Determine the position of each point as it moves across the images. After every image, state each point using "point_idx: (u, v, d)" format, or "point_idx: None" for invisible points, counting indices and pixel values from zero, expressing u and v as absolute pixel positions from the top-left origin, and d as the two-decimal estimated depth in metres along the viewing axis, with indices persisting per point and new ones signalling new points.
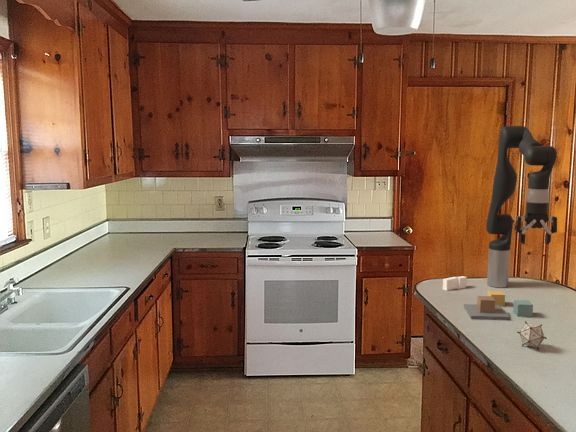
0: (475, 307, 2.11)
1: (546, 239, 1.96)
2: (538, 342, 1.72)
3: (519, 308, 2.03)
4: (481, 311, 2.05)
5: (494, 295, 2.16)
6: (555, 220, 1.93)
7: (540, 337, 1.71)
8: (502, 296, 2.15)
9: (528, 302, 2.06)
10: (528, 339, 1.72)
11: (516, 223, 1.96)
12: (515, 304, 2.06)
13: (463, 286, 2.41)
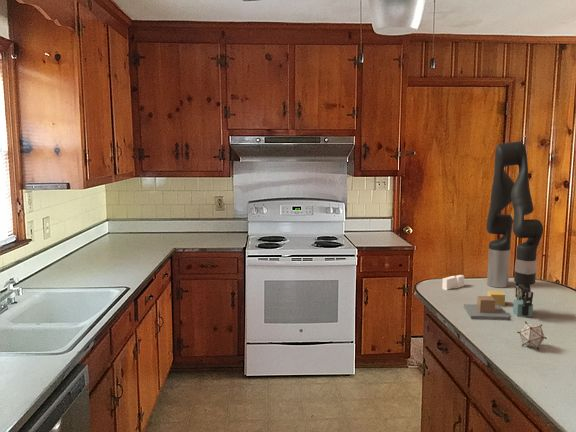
0: (475, 307, 2.11)
1: None
2: (538, 342, 1.72)
3: (519, 307, 2.03)
4: (481, 311, 2.05)
5: (494, 295, 2.16)
6: None
7: (540, 337, 1.71)
8: (502, 296, 2.15)
9: None
10: (528, 339, 1.72)
11: (529, 299, 1.99)
12: (515, 304, 2.06)
13: (461, 285, 2.43)
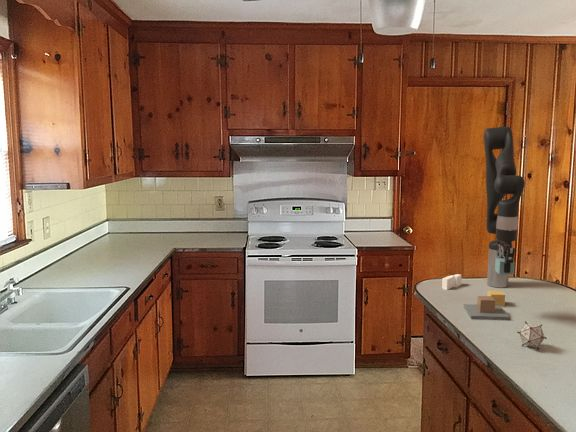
0: (475, 307, 2.11)
1: None
2: (538, 342, 1.72)
3: (500, 265, 2.01)
4: (481, 311, 2.05)
5: (494, 295, 2.16)
6: None
7: (540, 337, 1.71)
8: (502, 296, 2.15)
9: None
10: (528, 339, 1.72)
11: (511, 255, 1.97)
12: (497, 262, 2.04)
13: (459, 284, 2.45)
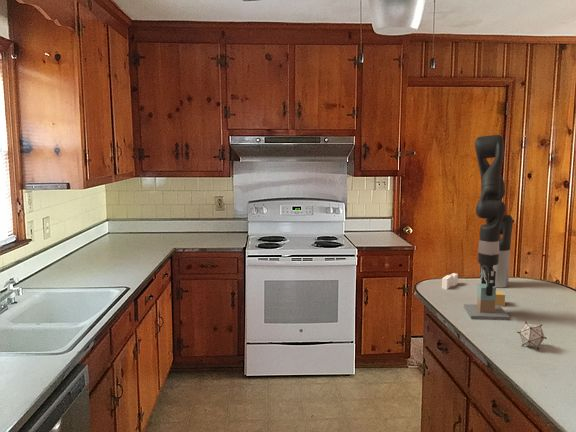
0: (475, 307, 2.11)
1: None
2: (538, 342, 1.72)
3: (482, 291, 2.04)
4: (481, 311, 2.05)
5: None
6: None
7: (540, 337, 1.71)
8: (502, 296, 2.15)
9: None
10: (528, 339, 1.72)
11: (492, 278, 1.99)
12: (479, 287, 2.07)
13: (456, 283, 2.46)
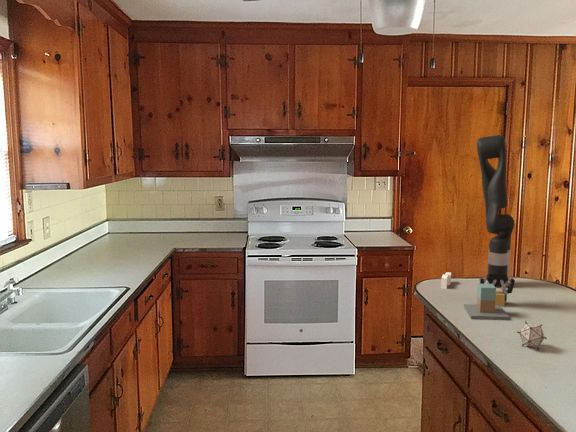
0: (475, 307, 2.11)
1: None
2: (538, 342, 1.72)
3: (482, 291, 2.04)
4: (481, 311, 2.05)
5: None
6: None
7: (540, 337, 1.71)
8: (502, 296, 2.15)
9: (492, 285, 2.06)
10: (528, 339, 1.72)
11: None
12: (479, 287, 2.07)
13: (450, 282, 2.49)
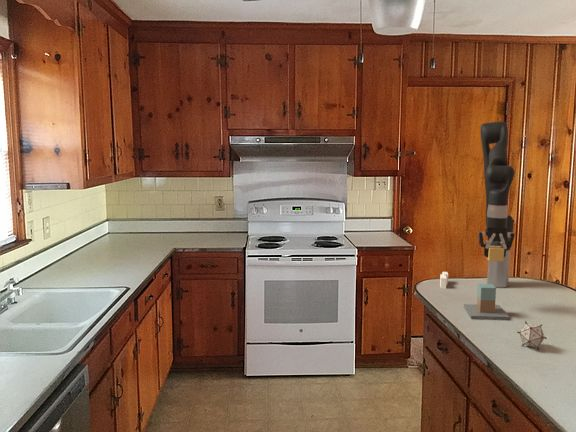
0: (475, 307, 2.11)
1: None
2: (538, 342, 1.72)
3: (482, 291, 2.04)
4: (481, 311, 2.05)
5: (492, 249, 2.09)
6: None
7: (540, 337, 1.71)
8: (501, 250, 2.09)
9: (492, 285, 2.06)
10: (528, 339, 1.72)
11: None
12: (479, 287, 2.07)
13: None
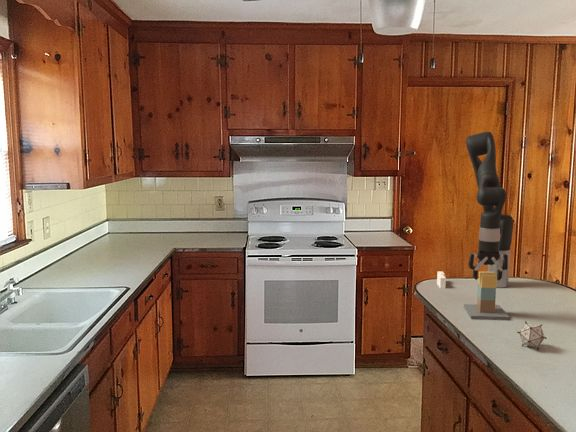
0: (475, 307, 2.11)
1: None
2: (538, 342, 1.72)
3: (482, 291, 2.04)
4: (481, 311, 2.05)
5: (485, 276, 2.03)
6: None
7: (540, 337, 1.71)
8: (494, 277, 2.02)
9: None
10: (528, 339, 1.72)
11: None
12: (479, 287, 2.07)
13: None
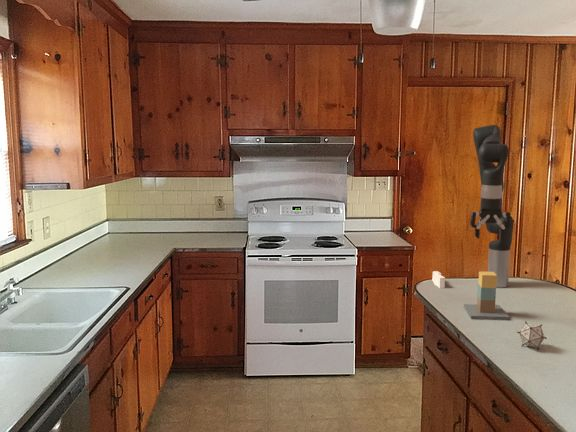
0: (475, 307, 2.11)
1: None
2: (538, 342, 1.72)
3: (482, 291, 2.04)
4: (481, 311, 2.05)
5: (485, 276, 2.03)
6: None
7: (540, 337, 1.71)
8: (494, 277, 2.02)
9: None
10: (528, 339, 1.72)
11: None
12: (479, 287, 2.07)
13: None
